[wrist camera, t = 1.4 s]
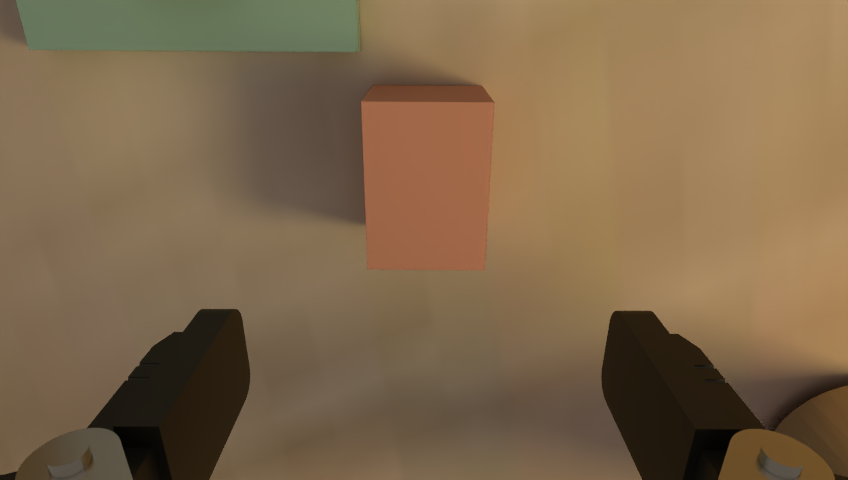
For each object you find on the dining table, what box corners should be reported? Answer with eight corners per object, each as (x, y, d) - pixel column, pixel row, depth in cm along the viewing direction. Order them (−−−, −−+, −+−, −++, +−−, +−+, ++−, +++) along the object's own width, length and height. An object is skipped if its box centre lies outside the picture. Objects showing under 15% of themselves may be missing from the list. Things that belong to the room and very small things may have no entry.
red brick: (481, 85, 25) (494, 102, 20) (475, 226, 27) (484, 270, 23) (373, 84, 25) (361, 101, 20) (377, 225, 27) (367, 269, 23)
